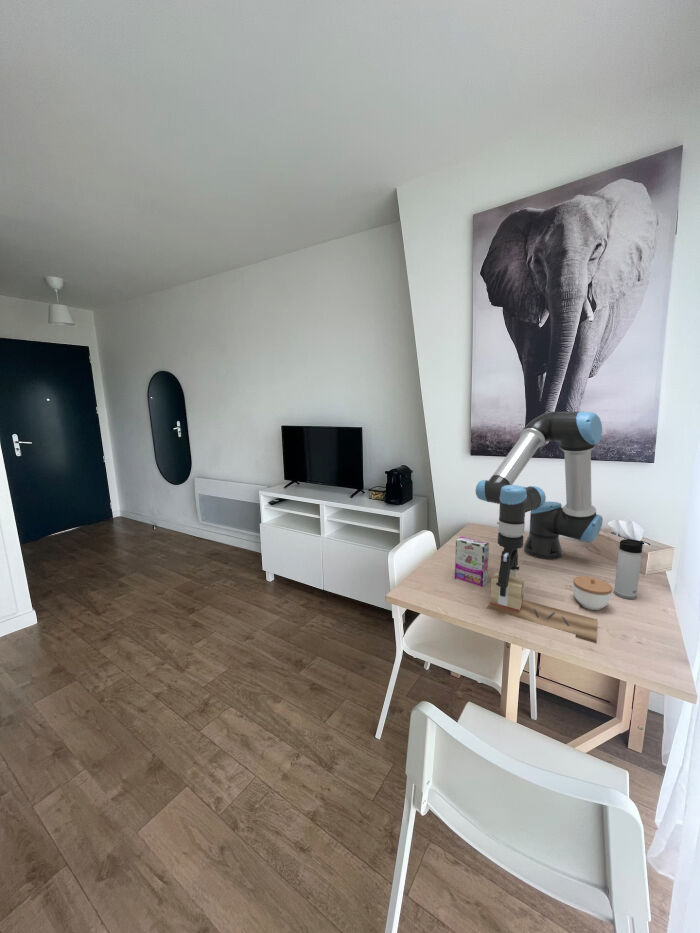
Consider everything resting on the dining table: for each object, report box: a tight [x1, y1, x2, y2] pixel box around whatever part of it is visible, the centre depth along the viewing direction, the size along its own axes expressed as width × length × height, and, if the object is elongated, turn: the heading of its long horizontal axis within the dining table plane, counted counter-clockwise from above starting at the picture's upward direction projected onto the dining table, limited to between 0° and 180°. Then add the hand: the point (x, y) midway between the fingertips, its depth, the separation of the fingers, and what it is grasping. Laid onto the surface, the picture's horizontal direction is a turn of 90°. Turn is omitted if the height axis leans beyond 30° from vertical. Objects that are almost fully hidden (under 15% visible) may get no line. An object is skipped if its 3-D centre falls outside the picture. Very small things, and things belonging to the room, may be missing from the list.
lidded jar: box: [572, 575, 613, 611], centre depth 120 cm, size 11×11×9 cm
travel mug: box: [613, 538, 645, 600], centre depth 125 cm, size 6×7×20 cm
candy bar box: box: [454, 536, 490, 587], centre depth 137 cm, size 11×5×16 cm, turn 47°
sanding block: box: [489, 572, 525, 613], centre depth 120 cm, size 6×9×9 cm, turn 55°
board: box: [486, 599, 598, 644], centre depth 115 cm, size 12×30×1 cm, turn 55°
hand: (507, 595), depth 120 cm, fingers open, 12 cm apart
